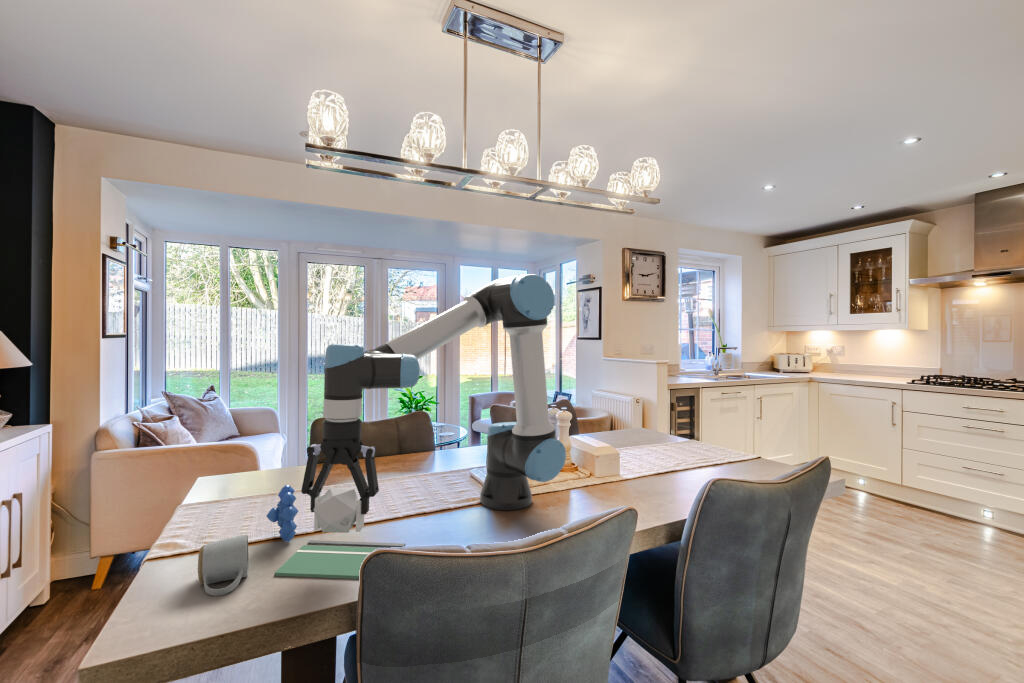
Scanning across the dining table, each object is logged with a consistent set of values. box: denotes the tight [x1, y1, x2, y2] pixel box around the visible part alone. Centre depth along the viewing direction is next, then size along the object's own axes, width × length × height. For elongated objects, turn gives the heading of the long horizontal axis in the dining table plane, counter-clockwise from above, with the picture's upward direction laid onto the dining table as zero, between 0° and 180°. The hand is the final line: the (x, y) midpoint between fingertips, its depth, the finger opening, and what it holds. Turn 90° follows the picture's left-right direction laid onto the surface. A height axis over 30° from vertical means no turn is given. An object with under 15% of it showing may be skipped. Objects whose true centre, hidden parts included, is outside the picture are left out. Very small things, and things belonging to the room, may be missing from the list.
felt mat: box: [274, 544, 379, 580], centre depth 96 cm, size 22×12×1 cm, turn 89°
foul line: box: [307, 539, 406, 548], centre depth 105 cm, size 22×1×1 cm, turn 89°
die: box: [313, 487, 359, 534], centre depth 95 cm, size 8×9×10 cm
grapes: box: [266, 484, 299, 543], centre depth 107 cm, size 12×7×12 cm, turn 31°
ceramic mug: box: [197, 534, 250, 597], centre depth 88 cm, size 11×8×8 cm
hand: (339, 528), depth 95 cm, fingers closed on die, 8 cm apart
